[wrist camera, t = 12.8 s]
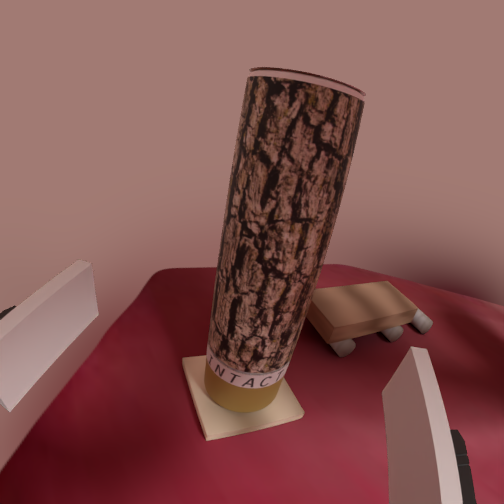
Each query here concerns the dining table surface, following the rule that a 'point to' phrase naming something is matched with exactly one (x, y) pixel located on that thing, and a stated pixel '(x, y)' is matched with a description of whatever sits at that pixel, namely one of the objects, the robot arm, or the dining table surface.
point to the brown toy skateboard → (362, 314)
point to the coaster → (229, 422)
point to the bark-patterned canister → (276, 227)
